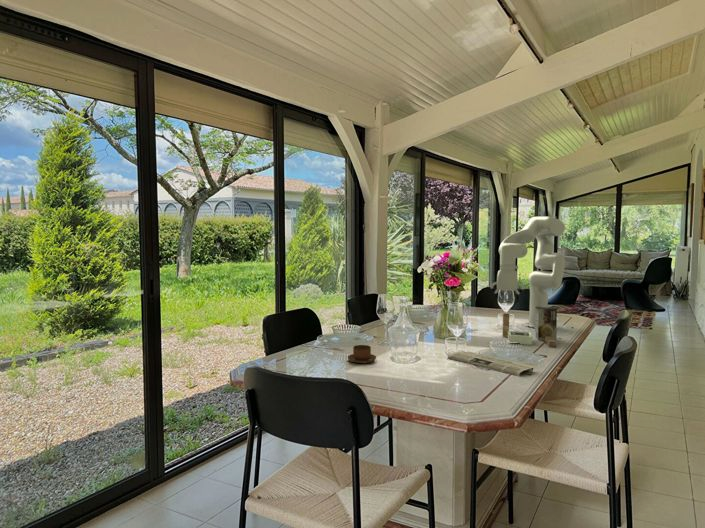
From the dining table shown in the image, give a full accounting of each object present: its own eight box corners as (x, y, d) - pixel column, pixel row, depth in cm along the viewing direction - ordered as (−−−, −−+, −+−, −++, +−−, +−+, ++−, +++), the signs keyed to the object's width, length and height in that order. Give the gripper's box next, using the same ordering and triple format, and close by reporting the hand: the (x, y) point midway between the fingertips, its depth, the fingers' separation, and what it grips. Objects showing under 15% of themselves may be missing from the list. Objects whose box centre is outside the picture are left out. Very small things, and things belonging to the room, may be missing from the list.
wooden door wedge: (545, 342, 247) (545, 336, 247) (551, 342, 246) (551, 336, 246) (549, 347, 235) (549, 341, 235) (556, 348, 235) (556, 341, 235)
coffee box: (552, 338, 255) (553, 306, 253) (556, 340, 248) (557, 308, 247) (534, 337, 256) (535, 306, 254) (537, 340, 249) (538, 308, 248)
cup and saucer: (343, 359, 214) (343, 345, 213) (368, 356, 218) (368, 342, 218) (354, 366, 203) (354, 351, 202) (381, 363, 207) (381, 348, 207)
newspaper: (447, 359, 215) (447, 351, 215) (465, 354, 223) (465, 346, 223) (522, 378, 188) (522, 369, 188) (539, 372, 197) (539, 363, 196)
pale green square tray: (507, 338, 253) (507, 330, 252) (529, 339, 250) (530, 332, 250) (508, 343, 242) (509, 335, 242) (531, 344, 240) (532, 336, 240)
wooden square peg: (502, 335, 260) (503, 312, 259) (508, 335, 259) (509, 312, 259) (502, 336, 257) (503, 313, 256) (508, 337, 257) (509, 313, 256)
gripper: (524, 268, 257) (523, 301, 258) (489, 267, 261) (488, 299, 263) (526, 269, 250) (525, 303, 251) (490, 268, 254) (489, 301, 255)
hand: (506, 301), depth 257 cm, fingers open, 9 cm apart
